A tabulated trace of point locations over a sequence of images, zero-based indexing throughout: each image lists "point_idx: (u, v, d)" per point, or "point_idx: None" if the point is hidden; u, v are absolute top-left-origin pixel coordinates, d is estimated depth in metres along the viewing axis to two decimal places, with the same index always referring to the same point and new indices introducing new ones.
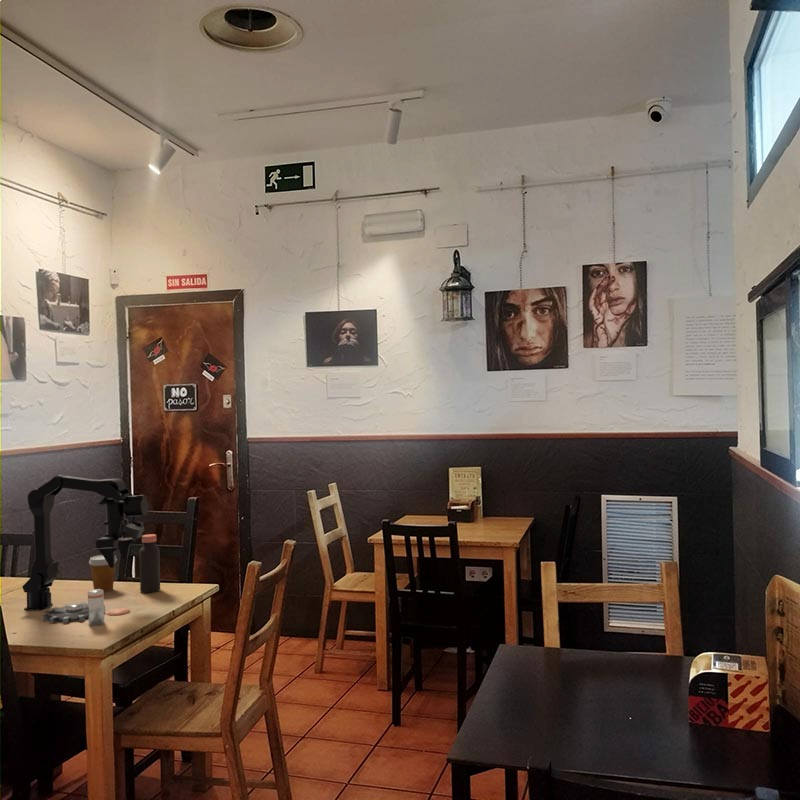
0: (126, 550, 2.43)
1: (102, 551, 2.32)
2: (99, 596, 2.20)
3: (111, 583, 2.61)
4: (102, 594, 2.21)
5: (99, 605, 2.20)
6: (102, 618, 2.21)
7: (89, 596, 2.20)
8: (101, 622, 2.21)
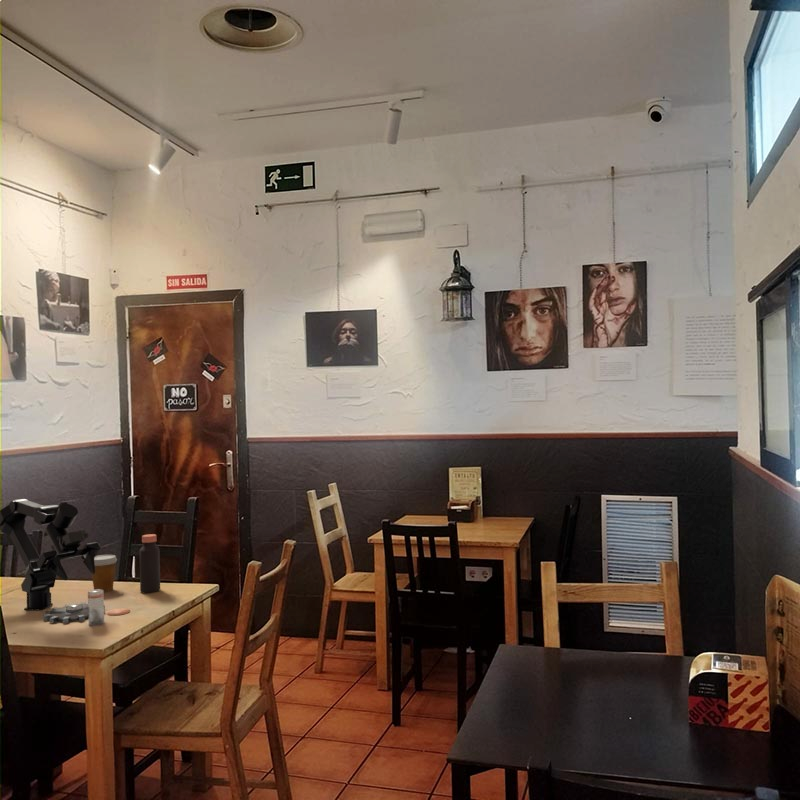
0: (90, 563, 2.31)
1: (50, 569, 2.24)
2: (99, 596, 2.20)
3: (111, 583, 2.61)
4: (102, 594, 2.21)
5: (99, 605, 2.20)
6: (102, 618, 2.21)
7: (89, 596, 2.20)
8: (101, 622, 2.21)
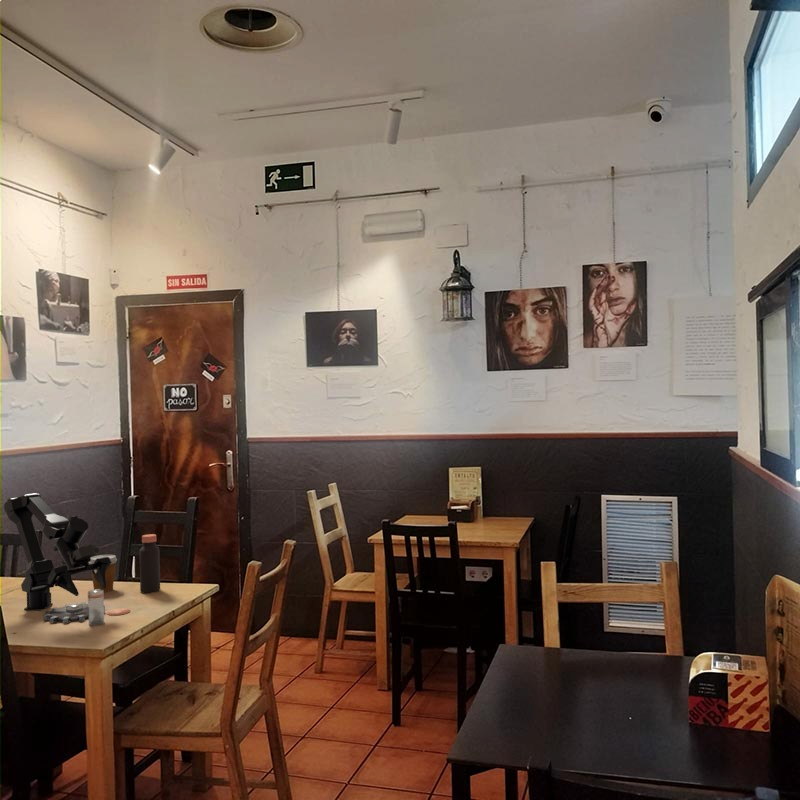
0: (101, 577, 2.28)
1: (61, 585, 2.21)
2: (99, 596, 2.20)
3: (111, 583, 2.61)
4: (102, 594, 2.21)
5: (99, 605, 2.20)
6: (102, 618, 2.21)
7: (89, 596, 2.20)
8: (101, 622, 2.21)
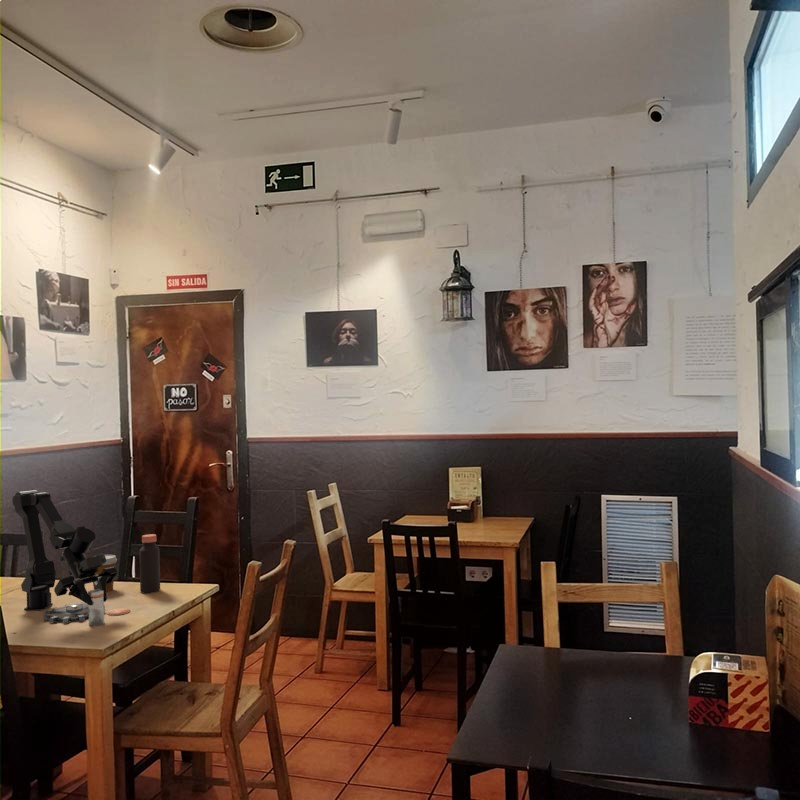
0: None
1: (75, 594, 2.20)
2: (99, 596, 2.20)
3: (111, 583, 2.61)
4: (102, 594, 2.21)
5: (99, 605, 2.20)
6: (102, 618, 2.21)
7: None
8: (101, 622, 2.21)
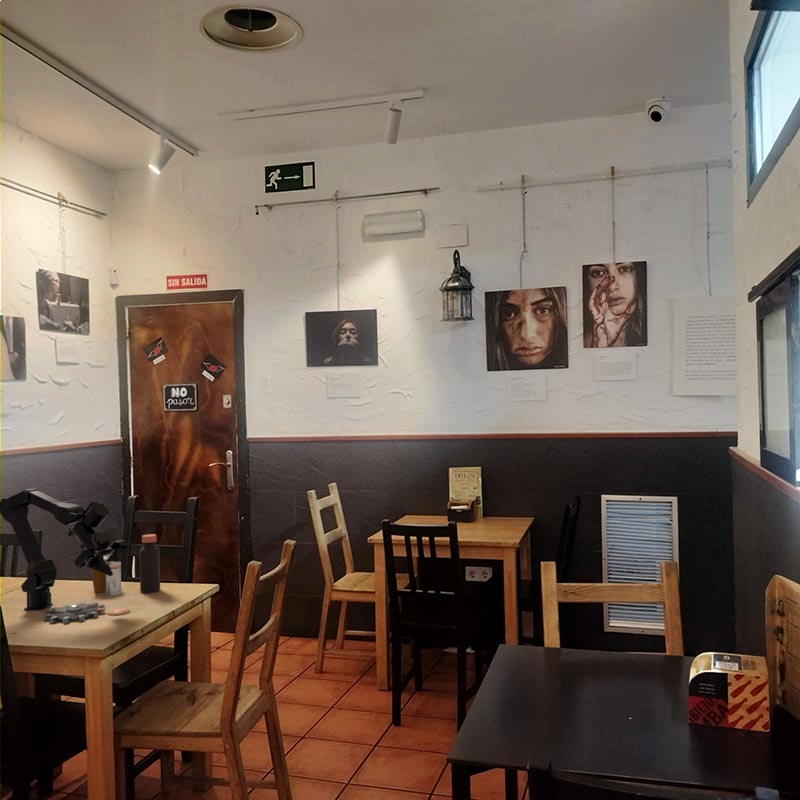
0: None
1: (93, 566, 2.28)
2: (118, 567, 2.29)
3: None
4: (120, 565, 2.31)
5: (118, 576, 2.29)
6: (120, 588, 2.30)
7: None
8: (120, 591, 2.30)
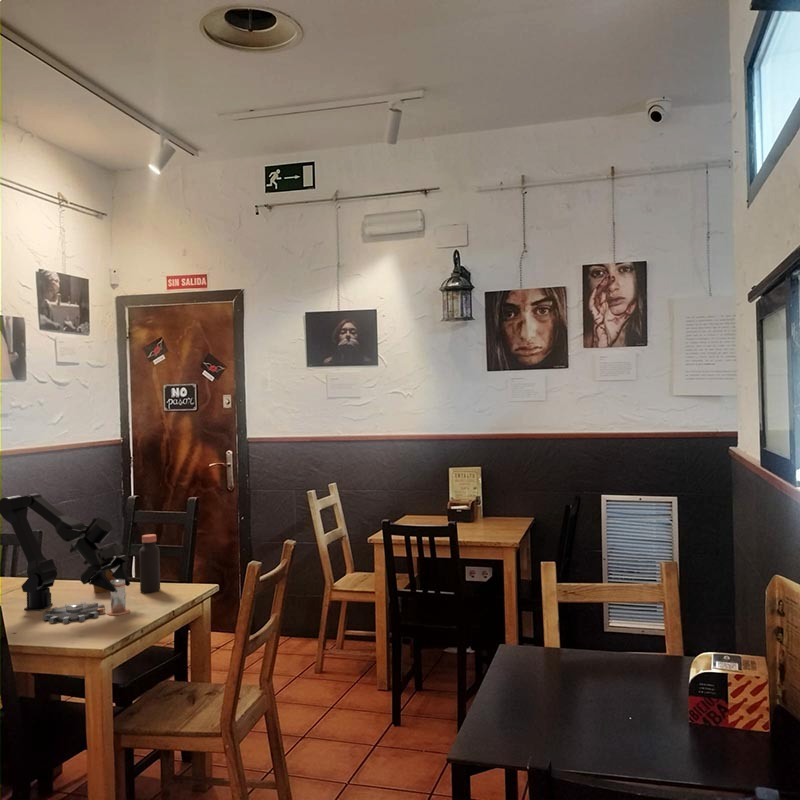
0: (123, 575, 2.37)
1: (95, 583, 2.29)
2: (123, 585, 2.32)
3: None
4: None
5: (123, 593, 2.33)
6: (125, 605, 2.34)
7: (114, 585, 2.31)
8: (124, 609, 2.33)
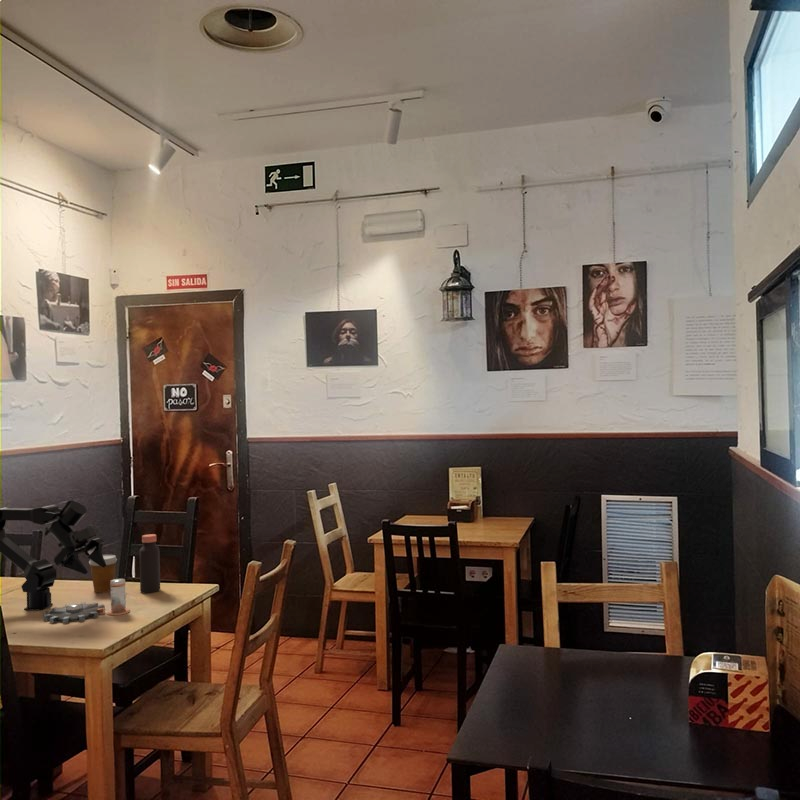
0: (99, 557, 2.40)
1: (67, 565, 2.30)
2: (123, 585, 2.32)
3: None
4: None
5: (123, 593, 2.33)
6: (125, 605, 2.34)
7: (114, 585, 2.31)
8: (124, 609, 2.33)
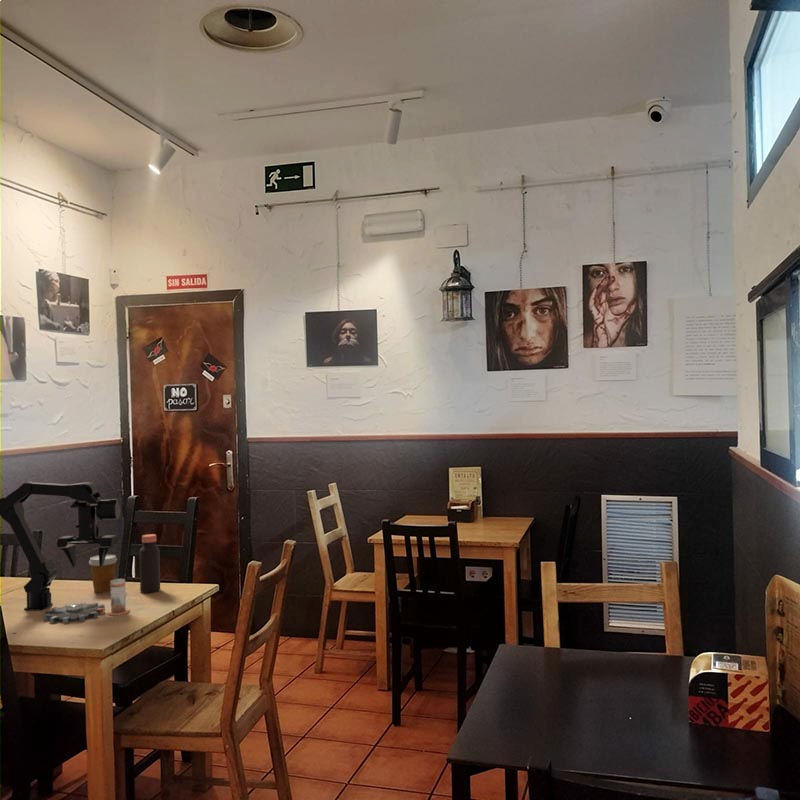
0: (74, 555, 2.43)
1: (104, 550, 2.40)
2: (123, 585, 2.32)
3: None
4: None
5: (123, 593, 2.33)
6: (125, 605, 2.34)
7: (114, 585, 2.31)
8: (124, 609, 2.33)
